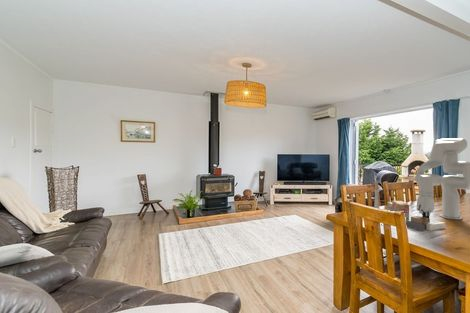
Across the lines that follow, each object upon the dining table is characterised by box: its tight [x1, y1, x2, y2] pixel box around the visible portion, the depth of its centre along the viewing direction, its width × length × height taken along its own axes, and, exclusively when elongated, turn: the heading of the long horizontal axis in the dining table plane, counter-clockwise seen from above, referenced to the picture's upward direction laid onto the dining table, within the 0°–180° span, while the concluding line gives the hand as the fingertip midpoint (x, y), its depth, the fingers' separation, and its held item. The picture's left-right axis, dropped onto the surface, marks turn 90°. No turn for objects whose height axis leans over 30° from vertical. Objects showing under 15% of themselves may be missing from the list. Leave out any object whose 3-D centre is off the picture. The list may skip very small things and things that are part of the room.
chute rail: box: [425, 221, 446, 231], centre depth 150 cm, size 14×2×4 cm, turn 107°
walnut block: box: [410, 215, 428, 230], centre depth 152 cm, size 7×6×7 cm
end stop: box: [405, 219, 425, 232], centre depth 151 cm, size 2×10×4 cm, turn 17°
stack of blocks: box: [386, 200, 410, 221], centre depth 177 cm, size 21×6×12 cm, turn 167°
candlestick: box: [373, 180, 380, 210], centre depth 165 cm, size 13×13×30 cm
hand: (425, 221), depth 154 cm, fingers closed
